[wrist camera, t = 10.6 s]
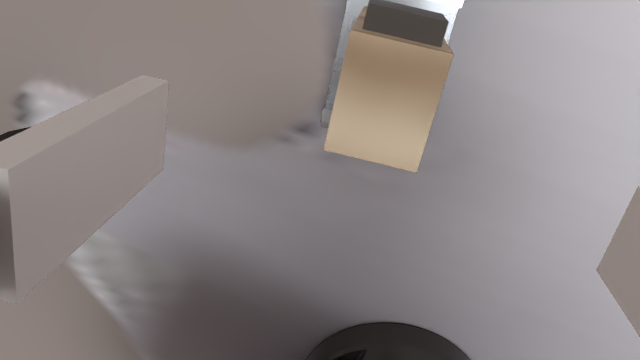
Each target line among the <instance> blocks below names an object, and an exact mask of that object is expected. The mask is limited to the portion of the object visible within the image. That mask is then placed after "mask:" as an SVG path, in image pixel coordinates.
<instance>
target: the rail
mask: <svg viewBox="0 0 640 360" xmlns="http://www.w3.org/2000/svg"><path fill="white" fill-rule="evenodd" d="M369 1H370V0H347V5H346V9H345V14H344V19H343V24H342V28H341V33H340V38H339V42H338V47H337V52H336V57H335V61H334V66H333V71H332V75H331V80H330V85H329V90H328V94H327V99H326V103H325V106H324V108H323V112H322V116H321V121H320V122H322V123H321V127H325V128H328V127H329V123H330V119H331V114H332V110H333V105H334V101H335V96H336V92H337V88H338V83H339V79H340V74H341V70H342V65H343V61H344V56H345V52H346V48H347V43H348V39H349V34H350V30H351V28H352V27H353V25H354V23H355V21H356V20H357V18H358V16H359V14H360V13H361V11H362V9H363V8H364V6H367V7H368V3H369ZM386 1H390V2H394V3H398V4H403V5H407V6H411V7H416V8H420V9H424V10H429V11H433V12H437V13H442V14H443V15H444V16H445V18H446V19H447V20H448V21H449V23H448V27H447V30H446V33H445V37H444V39H445V40H446V42H447V44H448V41H449V37H450V34H451V31H452V27H453V24H454V21H455V17H456V14H457V11H458V8H462V5H463V2H464V0H386Z"/></svg>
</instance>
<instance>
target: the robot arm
mask: <svg viewBox="0 0 640 360" xmlns="http://www.w3.org/2000/svg"><path fill="white" fill-rule="evenodd" d="M168 90H169V81H168V80H164V79H160V78H155V77H151V76H146V75H141V76H139V77H137V78H135V79H133V80H131V81H129V82H126V83H124V84H122V85H120V86H118V87H116V88H114V89H112V90H110V91H107V92H105V93H103V94H101V95H99V96H97V97H94V98H92V99H90V100H88V101H86V102H84V103H82V104H80V105H77V106H75V107H73V108H71V109H69V110H67V111H65V112H63V113H60V114H58V115H56V116H54V117H52V118H50V119H48V120H46V121H43V122H41V123H39V124H37V125H35V126H33V127H28V128H24V129H19V130H14V131H9V132H7V133H5V134H2V135H0V300H2V301H6V302H10V303H14V304H18V303H19V302H20V301H21V300H22V299H23V298H24V297H25V296H27V295H28V294H29V293H30V292H31V291H32V290H33V289H34V288H35V287H36V286H37V285H38V284H40V283H41V282H42V281H43V280H44V279H45V278H46V277H47V276H48V275H49V274H50V273H51V272H52V271H53V270H55V269H56V268H57V267H58V266H59V265H60V264H61V263H62V262H63V261H64V260H65V259H67V258H68V257H69V256H70V255H71V254H72V253H73V252H74V251H75V250H76V249H77V248H78V247H80V246H81V245H82V244H83V243H84V242H85V241H86V240H87V239H88V238H89V237H90V236H91V235H93V234H94V233H95V232H96V231H97V230H98V229H99V228H100V227H101V226H102V225H103V224H104V223H106V222H107V221H108V220H109V219H110V218H111V217H112V216H113V215H114V214H115V213H116V212H117V211H119V210H120V209H121V208H122V207H123V206H124V205H125V204H126V203H127V202H128V201H129V200H130V199H132V198H133V197H134V196H135V195H136V194H137V193H138V192H139V191H140V190H141V189H142V188H143V187H145V186H146V185H147V184H148V183H149V182H150V181H151V180H152V179H153V178H154V177H155V176H156V175H158V174H159V173H160V172H161V171H162V170H163V162H164V148H165V134H166V119H167V105H168ZM597 272H598V274H599V275H600V277H601V278H602V280H603V281H604V283H605V284H606V286H607V287H608V289H609V290H610V292H611V294H612V295H613V297H614V298H615V300H616V301H617V303H618V304H619V306H620V307H621V309H622V310H623V312H624V313H625V315H626V317H627V318H628V320H629V321H630V323H631V324H632V326H633V327H634V329H635V330H636V332H637V333H638V335H639V336H640V187H639V186H638V188H637V190H636V192H635V194H634V196H633V198H632V200H631V202H630V204H629V206H628V208H627V210H626V212H625V214H624V216H623V218H622V220H621V222H620V224H619V226H618V228H617V230H616V232H615V234H614V236H613V238H612V240H611V242H610V244H609V246H608V248H607V250H606V252H605V254H604V256H603V258H602V260H601V262H600V264H599V266H598V268H597ZM306 360H469V358H468V357H467V356H466V355H465V354H464V353H463V352H462V351H461V350H459V349H458V348H457V347H456V346H454V345H453V344H452V343H450V342H449V341H447V340H445V339H444V338H442V337H440V336H438V335H436V334H433V333H431V332H429V331H426V330H423V329H420V328H416V327H412V326H407V325H401V324H391V323H377V324H367V325H361V326H356V327H353V328H349V329H346V330H344V331H341V332H339V333H337V334H335V335H333V336H331V337H329V338H328V339H326V340H325V341H323V342H322V343H321V344H320V345H318V346H317V347H316V348H315V349H314V350H313V351H312V353H311V354H310V355H309V356H308V358H307V359H306Z"/></svg>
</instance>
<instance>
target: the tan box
mask: <svg viewBox="0 0 640 360" xmlns="http://www.w3.org/2000/svg"><path fill="white" fill-rule="evenodd" d="M448 23H449V21H448V20H447V19H446V18H445V16H444V15H443V14H442V13H437V12H433V11H429V10H424V9H420V8H416V7H411V6H407V5H403V4H398V3H394V2H390V1H386V0H370V1H369V3H368V7H367V6H364V8H363V9H362V11H361V13H360V14H359V16H358V18H357V20H356V21H355V23H354V25H353V27H352V28H351V30H350V34H349V39H348V43H347V48H346V52H345V56H344V61H343V65H342V70H341V74H340V79H339V83H338V88H337V92H336V96H335V101H334V105H333V110H332V114H331V119H330V123H329V127H328V132H327V136H326V141H325V145H324V150H325V151H329V152H333V153H337V154H342V155H346V156H350V157H354V158H358V159H362V160H366V161H370V162H374V163H378V164H383V165H387V166H391V167H395V168H399V169H403V170H407V171H411V172H415V173H417V170H418V166H419V163H420V160H421V157H422V154H423V150H424V147H425V144H426V141H427V138H428V135H429V131H430V128H431V125H432V122H433V119H434V116H435V112H436V109H437V106H438V103H439V100H440V96H441V93H442V90H443V87H444V84H445V81H446V77H447V74H448V71H449V68H450V65H451V62H452V58H453V55H454V54H453V52H452V51H451V49H450V47H449V45H448V44H447V42H446V40H445V39H444V37H445V33H446V30H447V27H448Z"/></svg>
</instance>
